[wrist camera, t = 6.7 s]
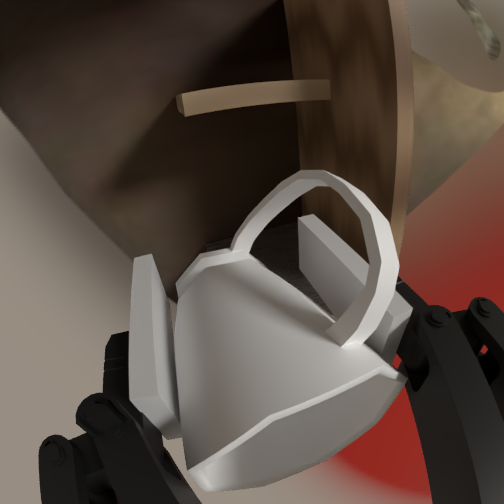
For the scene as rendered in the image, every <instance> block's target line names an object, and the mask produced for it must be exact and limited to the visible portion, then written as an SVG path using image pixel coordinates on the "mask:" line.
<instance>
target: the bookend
mask: <svg viewBox="0 0 504 504" xmlns="http://www.w3.org/2000/svg"><path fill="white" fill-rule="evenodd" d="M233 239H234V237H231V238H227V239H223V240H219V241H215V242H211V243H207V244H205V248H206V252H211V251H216V250H221V249H227V248H230V246H231V244H232V241H233ZM249 254H251V255H252V256H253V257H255V258H256V259H258V260H259V261H260V262H262V263H263V264H264V265H265V266H266V267H267V269H268V270H270V271H271V272H273V273H274V274H276V275H278V276H279V277H281V278H282V279H283V280H285V281H286V282H288V283H289V284H291V285H292V286H293V287H295V288H296V289H298V290H299V291H301V292H302V293H303V294H305V295H306V296H308V297H309V298H311V299H312V300H313V301H315V302H316V303H317V304H318V305H319V306H321V307H322V308H323V309H324V310H325V311H327V312H328V313H329V314H330V315H331V316H333V317H334V318H335V319H336V317H335V316H334V315H333V313H332V312H331V310H330V309H329V308H328V306H327V305H326V304H325V302H324V301H323V300H322V298H321V297H320V295H319V294H318V293H317V291H316V290H315V289H314V287H313V286H312V285H311V283H310V282H309V281H308V279H307V278H306V277H305V275H304V274H303V273H302V271H301V270H300V269H299V237H298V222H294V223H289V224H285V225H281V226H277V227H273V228H268V229H264V230H262V231H261V232H260V234H259V235H258V236H257V237H256V239H255V240H254V242H253V244H252V247H251V249H250V252H249ZM336 320H337V319H336Z"/></svg>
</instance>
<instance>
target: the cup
mask: <svg viewBox="0 0 504 504" xmlns="http://www.w3.org/2000/svg"><path fill="white" fill-rule="evenodd" d="M316 186H330V187H331V188H333V189H334V190H335V191H337V192H338V193H339V194H340V195H341V196H342V197H343V199H344V200H345V201H346V202H347V203H348V205H349V206H350V207H351V208H352V210H353V211H354V212H355V213H356V214H357V216H358V217H359V218H360V221H361V225H362V230H363V234H364V239H365V244H366V248H367V253H368V258H369V263H370V265H369V270H368V275H367V280H366V285H365V288H364V289H363V290H362V291H361V293H360V294H359V295H358V297H357V298H356V299H355V300H354V301H353V303H352V304H351V305H350V306H349V308H348V309H347V310H346V311H345V312H344V314H343V315H342V316H341V317H340V318H339V319H338V320H336V319H335V318H334V317H333V316H331V315H330V314H329V313H328V312H327V311H325V310H324V309H323V308H322V307H321V306H319V305H318V304H317V303H316V302H315V301H313V300H312V299H311V298H309V297H308V296H306V295H305V294H303V293H302V292H301V291H299V290H298V289H296V288H295V287H293V286H292V285H291V284H289V283H288V282H286V281H285V280H283V279H282V278H281V277H279V276H278V275H276V274H274V273H273V272H271V271H270V270H268V269H267V267H266V266H265V265H264V264H263V263H262V262H260V261H259V260H258V259H256V258H255V257H253V256H252V255H251V254H249V252H250V249H251V247H252V244H253V242H254V240H255V239H256V237H257V236H258V235H259V234H260V232H261V231H262V230H263V229H264V227H265V226H266V225H267V224H268V223H269V222H270V221H271V220H272V219H273V218H274V217H275V216H276V215H277V214H279V213H280V212H281V211H282V210H283V209H284V208H285V207H287V206H288V205H289V204H290V203H291V202H293V201H294V200H295V199H296V198H297V197H299V196H301V195H302V194H304V193H306V192H307V191H309V190H311V189H313V188H314V187H316ZM398 271H399V262H398V257H397V252H396V248H395V244H394V240H393V236H392V232H391V228H390V224H389V222H388V220H387V219H386V218H385V217H384V216H383V214H382V213H381V212H380V211H379V210H378V209H377V207H376V206H375V205H374V204H373V203H372V202H371V200H370V199H369V198H368V197H367V196H366V195H365V194H364V193H363V192H362V191H360V190H359V189H357V188H356V187H354V186H353V185H351V184H350V183H348V182H347V181H345V180H344V179H342V178H340V177H338V176H336V175H333V174H331V173H329V172H327V171H325V170H300V171H298V172H297V173H295V174H293V175H292V176H290V177H289V178H287V179H285V180H284V181H282V182H280V183H279V184H278V185H277V186H276V187H275V188H274V189H273V190H272V191H271V192H270V193H269V194H268V195H267V196H266V197H265V198H264V199H263V200H262V201H261V202H260V203H259V204H258V205H257V206H256V207H255V208H254V209H253V210H252V212H251V213H250V214H249V215H248V216H247V218H246V219H245V221H244V222H243V224H242V225H241V226H240V228H239V229H238V231H237V232H236V234H235V236H234V239H233V241H232V244H231V246H230V248H227V249H221V250H216V251H211V252H206V253H201V254H199V255H198V256H197V258H196V259H195V260H194V261H193V262H192V264H191V265H190V266H189V267H188V268H187V270H186V271H185V272H184V273H183V275H182V276H181V277H180V278H179V279H178V281H177V282H176V288H177V294H178V299H179V300H178V304H177V312H176V321H175V331H174V349H175V362H176V375H177V386H178V397H179V410H180V421H181V431H182V438H183V446H184V453H185V460H186V466H187V471H188V472H189V474H190V475H191V476H192V477H193V479H194V480H195V481H196V482H197V483H198V485H199V486H200V487H201V489H202V490H203V491H206V492H217V491H229V490H238V489H247V488H255V487H262V486H266V485H268V484H271V483H274V482H277V481H279V480H282V479H284V478H287V477H289V476H292V475H294V474H297V473H299V472H302V471H304V470H306V469H308V468H311V467H313V466H315V465H317V464H320V463H322V462H324V461H326V460H327V459H329V458H330V457H332V456H333V455H335V454H336V453H338V452H339V451H341V450H342V449H343V448H345V447H346V446H348V445H349V444H350V443H352V442H353V441H354V440H356V439H357V438H359V437H360V436H361V435H363V434H364V433H365V432H366V431H368V430H369V429H370V428H371V427H373V426H374V425H375V424H376V423H378V422H379V420H380V419H381V418H382V416H383V415H384V414H385V412H386V411H387V410H388V408H389V407H390V406H391V404H392V403H393V401H394V400H395V398H396V397H397V395H398V394H399V393H400V391H401V390H402V388H403V387H404V385H405V384H406V382H407V380H408V378H407V377H406V376H405V375H404V374H403V373H401V372H400V371H399V370H398V369H396V368H395V367H394V366H393V365H392V364H390V363H389V362H388V361H387V360H386V359H384V358H383V357H382V356H381V355H379V354H378V353H377V352H376V351H374V350H373V349H372V348H371V347H369V346H368V345H367V344H366V343H364V342H365V340H366V339H367V338H368V337H369V336H370V335H371V334H372V333H373V332H374V331H375V330H376V329H377V327H378V325H379V323H380V321H381V319H382V317H383V315H384V314H385V312H386V310H387V308H388V306H389V304H390V302H391V300H392V298H393V296H394V291H395V286H396V281H397V276H398Z"/></svg>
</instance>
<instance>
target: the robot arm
mask: <svg viewBox="0 0 504 504" xmlns="http://www.w3.org/2000/svg"><path fill="white" fill-rule="evenodd" d="M298 237H299V269H300V270H301V271H302V273H303V274H304V275H305V277H306V278H307V279H308V281H309V282H310V283H311V285H312V286H313V287H314V289H315V290H316V291H317V293H318V294H319V295H320V297H321V298H322V300H323V301H324V302H325V304H326V305H327V306H328V308H329V309H330V310H331V312H332V313H333V315H334V316H335V317H336V319H337V320H338V319H339V318H340V317H341V316H342V315H343V314H344V312H345V311H346V310H347V309H348V308H349V306H350V305H351V304H352V303H353V301H354V300H355V299H356V298H357V297H358V295H359V294H360V293H361V291H362V290H363V289H364V288H365V285H366V280H367V275H368V270H369V265H370V263H367V262H366V261H365V260H364V259H363V258H361V257H360V256H359V255H358V254H357V253H356V252H355V251H354V250H353V249H352V248H351V247H350V246H349V245H347V244H346V243H345V242H344V241H343V240H342V239H341V238H340V237H339V236H338V235H336V234H335V233H334V232H333V231H332V230H331V229H330V228H329V227H328V226H326V225H325V224H324V223H323V222H322V221H321V220H320V219H318V218H317V217H316V216H315V215H314V214H311V215H307V216H302V217H298ZM130 305H131V306H130V325H129V331H126V332H122V333H117V334H113V335H111V337H110V339H109V341H108V343H107V345H106V348H105V362H104V377H103V393H96V394H92V395H90V396H88V397H87V398H85V399H84V400H83V401H82V402H81V404H80V405H79V407H78V409H77V412H76V424H77V425H79V426H80V427H81V428H82V429H83V430H84V431H86V432H87V433H85V434H82V435H80V436H78V437H76V438H73V439H71V440H67V439H66V438H65V437H63V436H61V435H52V436H49V437H47V438H46V439H45V440H44V441H43V442H42V444H41V446H40V449H39V478H40V492H41V501H42V504H202V503H201V502H200V500H199V499H198V498H197V496H196V495H195V493H194V492H193V490H192V489H191V487H190V486H189V484H188V483H187V481H186V480H185V478H184V477H183V475H182V473H181V472H180V470H179V469H178V467H177V466H176V464H175V462H174V461H173V459H172V457H171V455H170V454H169V452H168V451H167V450H166V448H165V447H164V446H163V440H162V435H163V436H164V437H165V438H166V439H167V440H169V439H175V438H181V437H182V431H181V421H180V410H179V397H178V386H177V375H176V362H175V349H174V338H173V330H172V321H171V312H170V303H169V301H168V298H167V295H166V293H165V290H164V287H163V285H162V282H161V279H160V276H159V274H158V271H157V268H156V265H155V262H154V259H153V256H152V254H148V255H144V256H141V257H137V258H134V266H133V277H132V291H131V304H130ZM364 343H366V344H367V345H368V346H369V347H371V348H372V349H373V350H374V351H376V352H377V353H378V354H379V355H381V356H382V357H383V358H384V359H386V360H387V361H388V362H389V363H390V364H392V363H393V360H394V358H395V356H396V353H397V354H398V356H399V357H400V358H401V360H402V361H401V363H400V365H399V367H398V370H399V371H400V372H401V373H403V374H404V375H405V376H406V377H407V378H408V380H407V382H406V384H405V387H406V390H407V394H408V397H409V400H410V404H411V407H412V411H413V414H414V418H415V422H416V426H417V429H418V434H419V438H420V441H421V446H422V450H423V455H424V459H425V464H426V468H427V473H428V479H429V484H430V489H431V495H432V502H433V504H504V313H503V312H502V311H501V310H500V309H499V308H498V306H496V304H495V303H493V302H492V301H491V300H489V299H487V298H483V297H477V298H474V299H473V300H472V301H471V303H470V305H469V307H468V309H467V310H462V311H457V312H450V311H449V310H448V309H446V308H445V307H442V306H438V305H430V306H429V305H428V304H427V303H426V302H424V300H423V299H422V298H421V297H420V296H418V295H417V294H416V293H415V292H414V291H413V290H412V289H411V288H410V287H409V286H408V285H407V284H406V283H405V282H403V281H402V279H401V278H400V277H398V276H397V281H396V286H395V291H394V296H393V298H392V300H391V302H390V304H389V306H388V308H387V310H386V312H385V314H384V315H383V317H382V319H381V321H380V323H379V325H378V327H377V329H376V330H375V331H374V332H373V333H372V334H371V335H370V336H369V337H368V338H367V339H366V340H365V342H364ZM484 345H485V346H486V347H487V348H488V350H487V352H486V354H483V353H481V352H480V351H481V349H482V347H483V346H484Z"/></svg>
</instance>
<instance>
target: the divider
mask: <svg viewBox="0 0 504 504" xmlns="http://www.w3.org/2000/svg"><path fill="white" fill-rule="evenodd" d="M175 96H176V102H177V108H178V111H179V112H180V113H182V114H183V115H184V116H185V117H186V116H191V115H196V114H201V113H207V112H213V111H218V110H224V109H231V108H238V107H245V106H253V105H261V104H270V103H281V102H293V101H308V100H331V93H330V80H287V81H271V82H259V83H249V84H240V85H232V86H224V87H217V88H211V89H205V90H199V91H193V92H188V93H183V94H179V95H175Z"/></svg>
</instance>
